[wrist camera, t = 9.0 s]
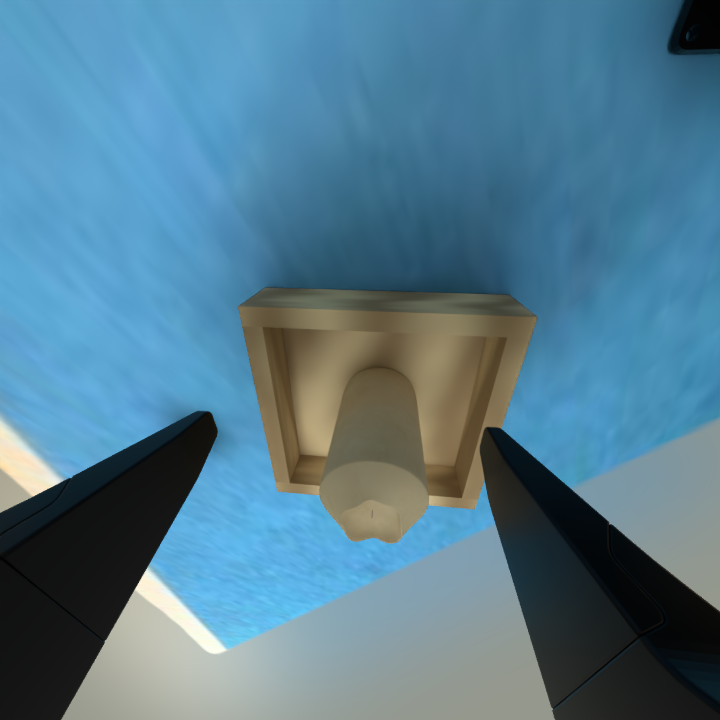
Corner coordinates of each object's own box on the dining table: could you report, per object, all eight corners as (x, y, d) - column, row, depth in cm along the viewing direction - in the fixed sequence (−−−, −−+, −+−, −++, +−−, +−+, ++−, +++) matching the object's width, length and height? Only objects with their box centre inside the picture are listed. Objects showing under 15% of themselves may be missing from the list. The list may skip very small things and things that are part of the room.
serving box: (509, 294, 18) (537, 317, 15) (463, 467, 26) (474, 509, 22) (265, 287, 19) (237, 306, 16) (291, 454, 27) (277, 491, 24)
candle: (431, 395, 21) (459, 530, 12) (383, 435, 24) (379, 572, 15) (374, 352, 20) (360, 469, 11) (329, 399, 22) (290, 526, 14)
